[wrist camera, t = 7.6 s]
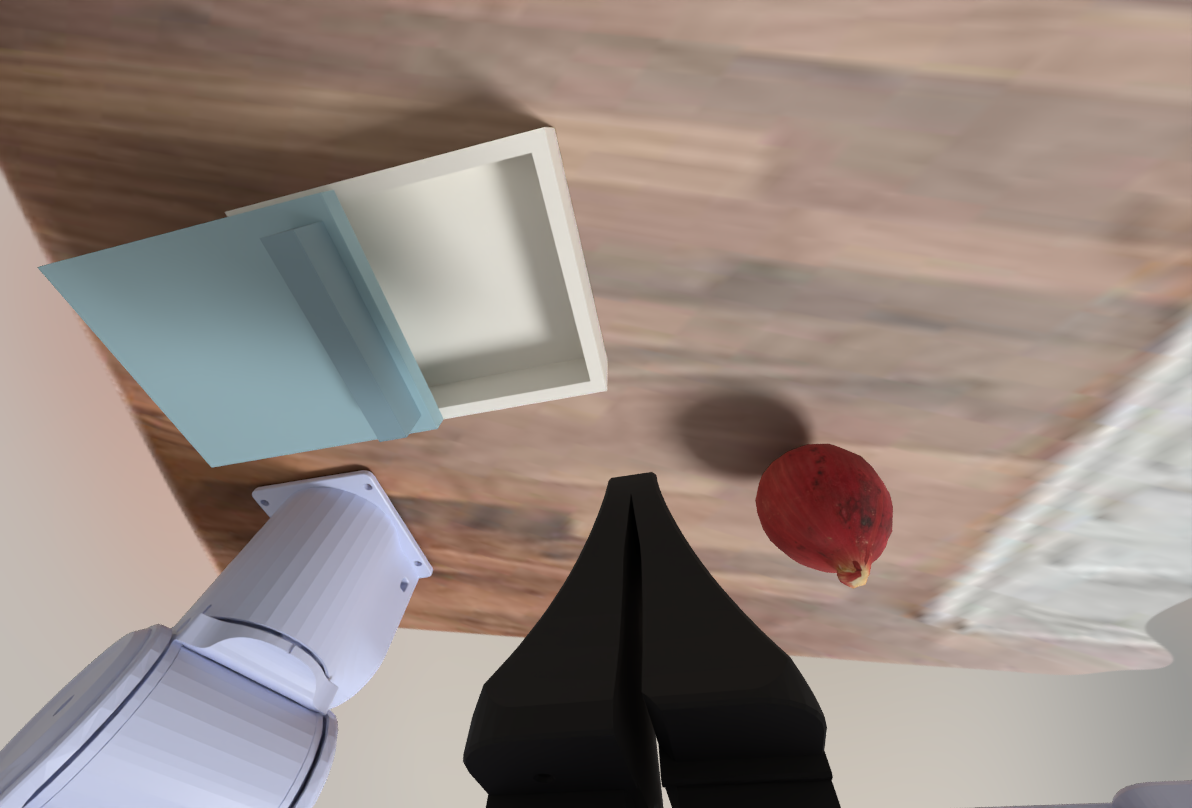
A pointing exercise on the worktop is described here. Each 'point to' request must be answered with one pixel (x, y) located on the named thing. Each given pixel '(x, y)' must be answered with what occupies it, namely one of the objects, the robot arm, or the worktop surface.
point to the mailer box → (481, 271)
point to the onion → (826, 510)
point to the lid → (256, 332)
